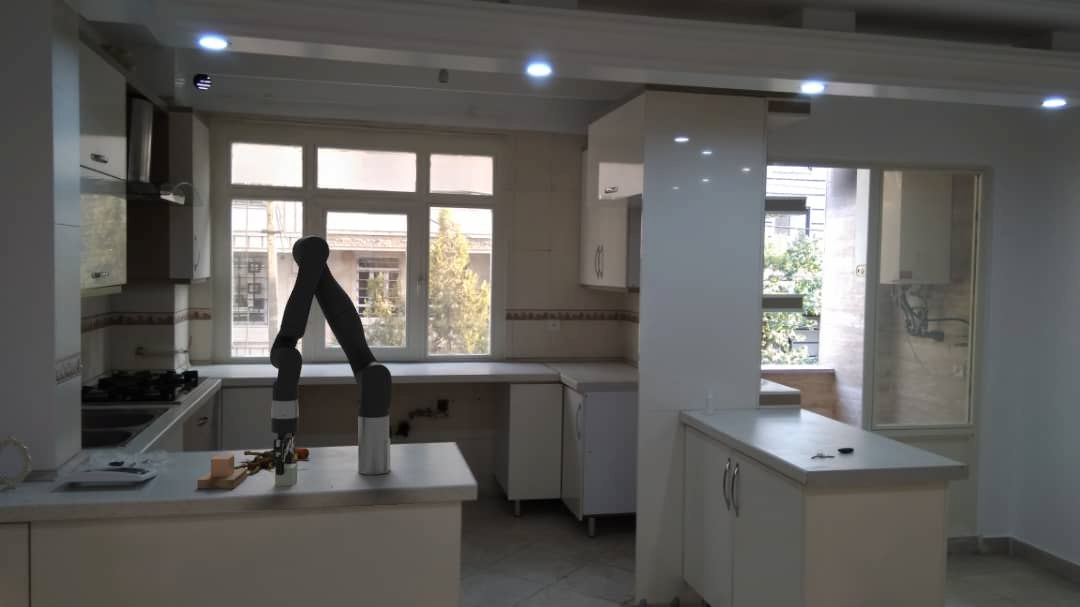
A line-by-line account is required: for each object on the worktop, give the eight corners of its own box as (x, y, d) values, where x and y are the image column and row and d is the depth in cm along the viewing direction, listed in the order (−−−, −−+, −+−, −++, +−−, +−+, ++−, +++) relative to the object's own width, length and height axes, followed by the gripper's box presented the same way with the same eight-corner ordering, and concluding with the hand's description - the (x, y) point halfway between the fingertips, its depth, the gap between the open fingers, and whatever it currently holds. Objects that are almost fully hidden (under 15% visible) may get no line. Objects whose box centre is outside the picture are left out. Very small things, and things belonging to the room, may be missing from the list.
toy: (261, 494, 244) (332, 461, 270) (259, 475, 243) (331, 444, 269) (199, 482, 256) (272, 452, 282) (197, 464, 255) (271, 435, 281)
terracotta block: (234, 472, 244) (234, 455, 244) (228, 476, 239) (228, 459, 239) (216, 472, 244) (216, 455, 244) (210, 476, 239) (210, 459, 239)
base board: (246, 477, 248) (246, 469, 248) (233, 488, 236) (233, 479, 236) (212, 477, 248) (212, 469, 247) (197, 488, 236) (197, 479, 235)
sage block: (297, 480, 245) (297, 463, 245) (292, 485, 240) (292, 468, 240) (279, 481, 245) (279, 464, 245) (275, 485, 240) (275, 468, 240)
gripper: (291, 419, 235) (290, 477, 235) (304, 411, 249) (303, 465, 249) (264, 419, 234) (263, 477, 235) (278, 410, 249) (277, 465, 249)
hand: (284, 471), depth 242 cm, fingers open, 8 cm apart
